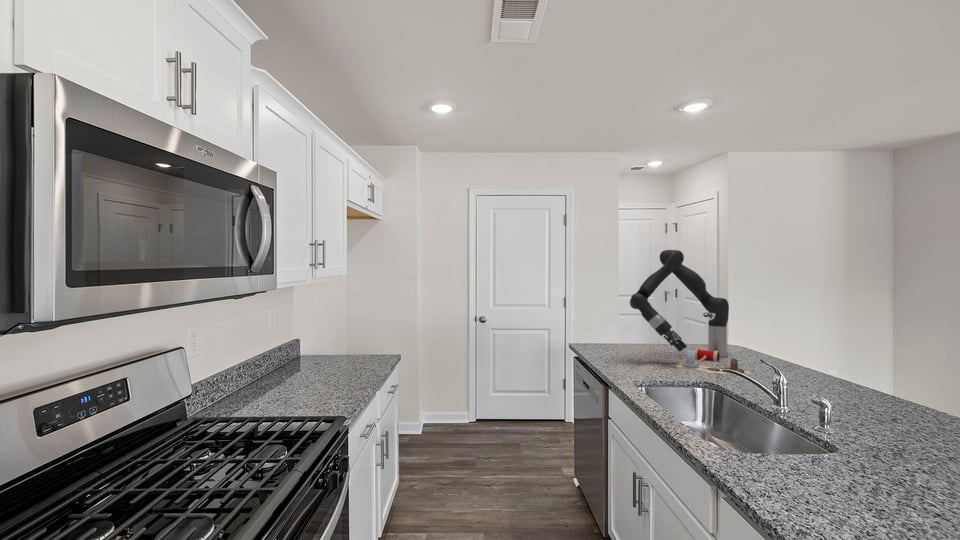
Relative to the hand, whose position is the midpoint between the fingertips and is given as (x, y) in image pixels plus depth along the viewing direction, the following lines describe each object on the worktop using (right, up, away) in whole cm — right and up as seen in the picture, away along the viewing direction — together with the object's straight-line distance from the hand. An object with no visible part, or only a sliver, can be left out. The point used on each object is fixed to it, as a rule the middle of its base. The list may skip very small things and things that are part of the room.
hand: (683, 349), depth 221 cm
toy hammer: (+17, -10, +13) cm, 23 cm away
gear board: (+10, -10, -7) cm, 16 cm away
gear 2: (+18, -9, -13) cm, 24 cm away
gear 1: (+3, -9, -2) cm, 9 cm away
